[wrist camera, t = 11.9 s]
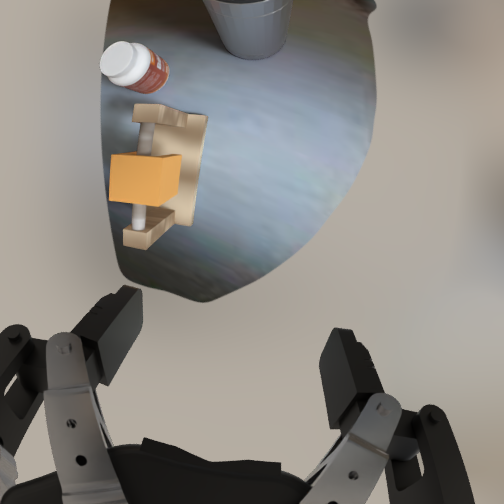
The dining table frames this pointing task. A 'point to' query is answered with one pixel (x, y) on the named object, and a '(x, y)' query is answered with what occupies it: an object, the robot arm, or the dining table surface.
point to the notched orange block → (144, 178)
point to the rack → (190, 147)
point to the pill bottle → (134, 67)
